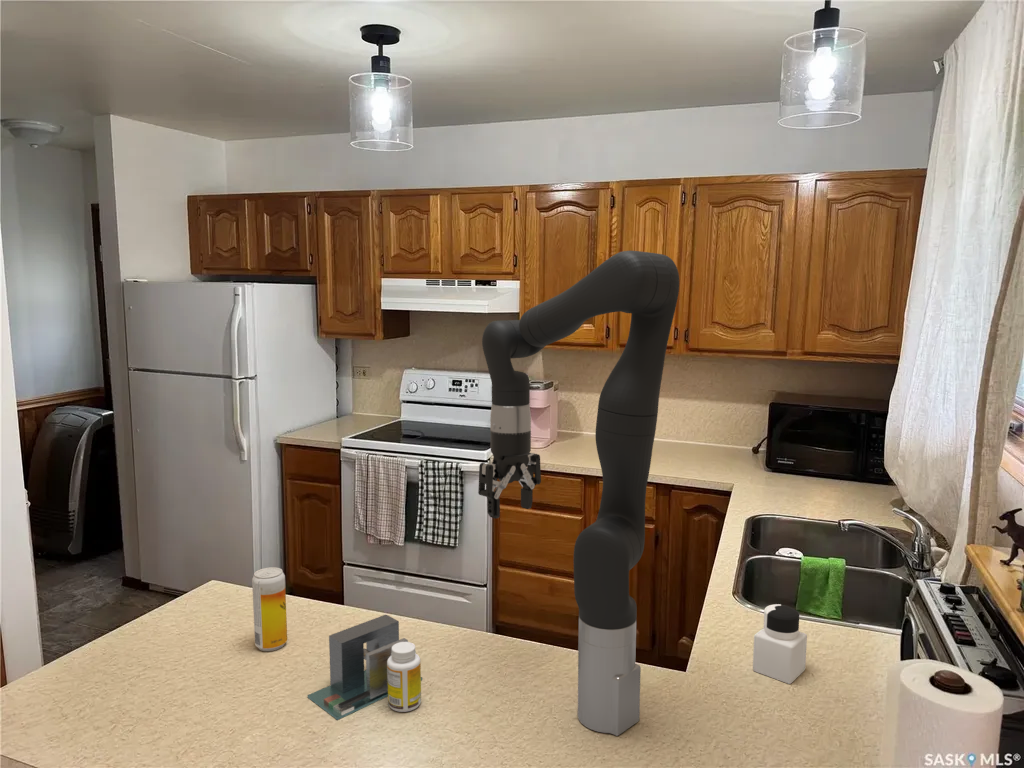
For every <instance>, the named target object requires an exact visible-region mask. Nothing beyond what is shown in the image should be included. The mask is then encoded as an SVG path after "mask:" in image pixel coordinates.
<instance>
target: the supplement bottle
mask: <svg viewBox="0 0 1024 768" xmlns="http://www.w3.org/2000/svg"><path fill="white" fill-rule="evenodd" d="M421 664H422V663H421V658H420V656H419V654H417V653H416V645H415V643H413V642H410V641H408V642H399V643H396V644H394V645H393V646H392V653H391V656H390V657H389V658H388V661H387V679H388V696H387V699H388V707H389V708H390V709H391V710H393V711H395V712H399V713H405V712H406V713H407V712H411V711H414V710H415V709H417V708H418V707H419V706H420V705H421V702H422V680H421V677H422V675H421V674H422V673H421V672H422V671H421V669H422V668H421V666H422V665H421Z"/></svg>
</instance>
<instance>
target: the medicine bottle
mask: <svg viewBox="0 0 1024 768" xmlns="http://www.w3.org/2000/svg"><path fill="white" fill-rule="evenodd" d="M799 628H800V613H799V612H798V610H797V609H795V608H793V607H792V606H789V605H786V604H781V603H780V604H779V603H778V604H777V603H775V604H770V605H767V606H766V607H765V608H764V611H763V628H762V629H760V630H759V631H758V632H756V633H755V634H754V636H753V653H752V654H753V655H752V656H753V657H752V670H753V672H755V673H758V674H761V675H764V676H766V677H769V678H772V679H774V680H778V681H780V682H783V683H785V684H787V685H791V684H792V683H793V682H794V681H795V680H796V679H797V678H798V677H799V676H800V675H802V674H803V672H804V671H805V670H806V664H807V663H806V661H807V660H806V659H807V646H808V645H807V644H808V643H807V642H808V635H807V633H805V632H801V631H799Z"/></svg>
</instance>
